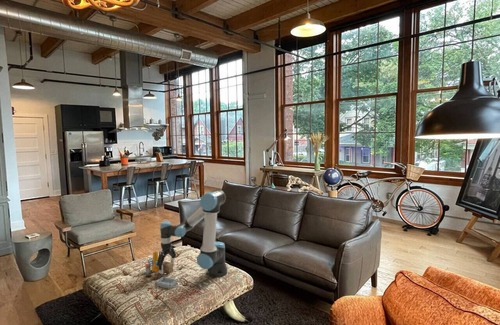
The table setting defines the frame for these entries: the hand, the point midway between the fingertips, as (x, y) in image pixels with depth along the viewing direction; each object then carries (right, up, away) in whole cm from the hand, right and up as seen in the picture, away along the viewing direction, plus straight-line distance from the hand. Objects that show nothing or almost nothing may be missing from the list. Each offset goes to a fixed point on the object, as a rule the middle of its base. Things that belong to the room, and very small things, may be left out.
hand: (167, 269), depth 221 cm
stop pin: (-10, -3, -11) cm, 15 cm away
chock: (0, -2, 0) cm, 2 cm away
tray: (+5, -4, -18) cm, 19 cm away
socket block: (-10, -3, -11) cm, 15 cm away
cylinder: (-10, -2, +4) cm, 11 cm away
